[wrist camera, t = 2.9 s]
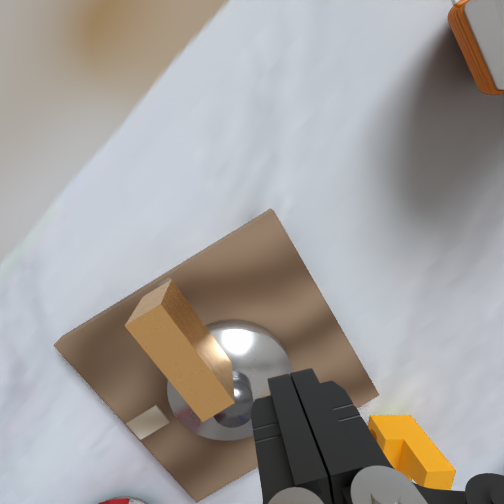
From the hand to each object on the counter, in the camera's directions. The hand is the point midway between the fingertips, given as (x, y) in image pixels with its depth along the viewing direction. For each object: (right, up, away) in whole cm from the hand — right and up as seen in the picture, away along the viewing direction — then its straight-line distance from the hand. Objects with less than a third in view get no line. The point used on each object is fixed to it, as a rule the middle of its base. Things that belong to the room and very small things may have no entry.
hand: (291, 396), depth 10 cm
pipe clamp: (+12, -18, +23) cm, 31 cm away
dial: (-4, -4, +15) cm, 16 cm away
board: (-3, -5, +18) cm, 19 cm away
